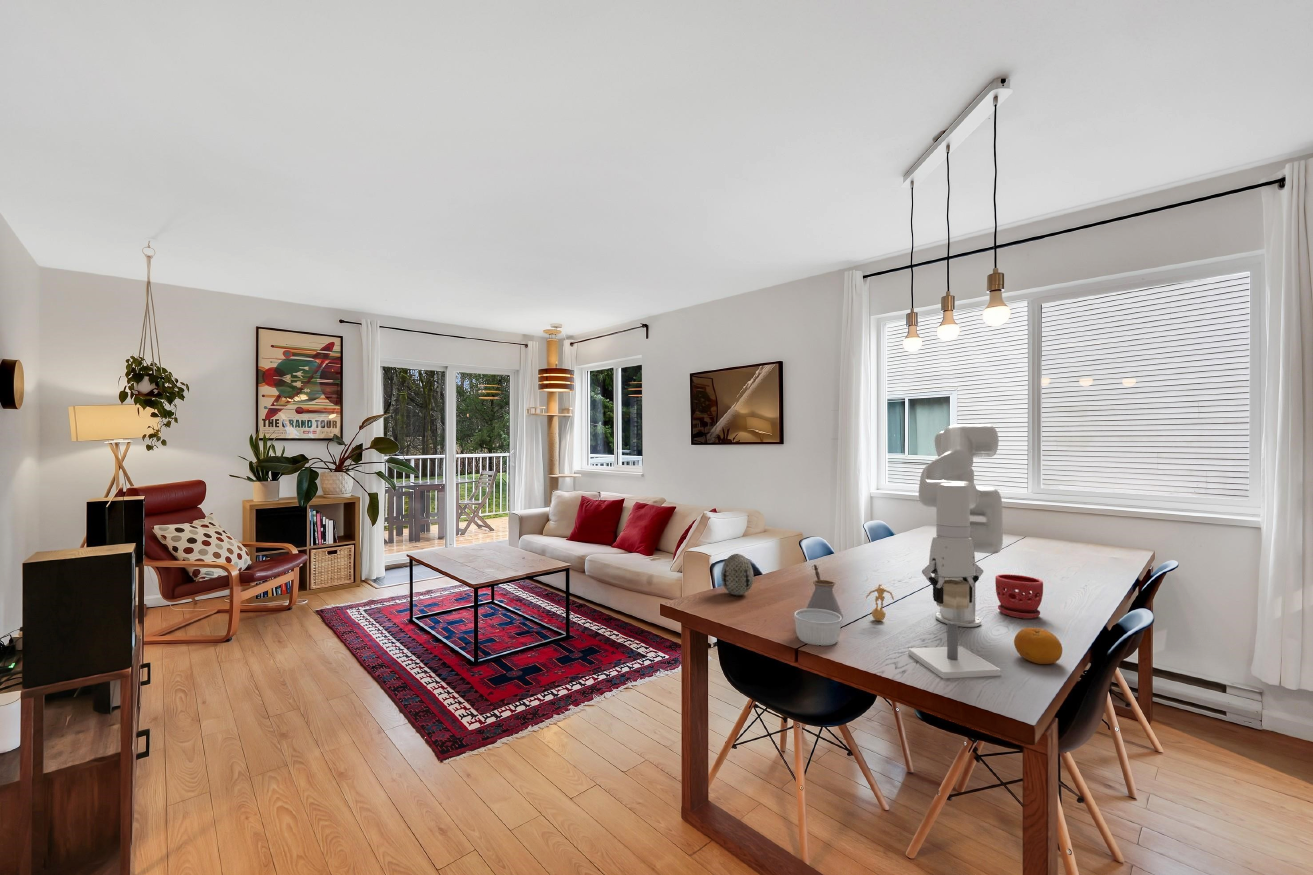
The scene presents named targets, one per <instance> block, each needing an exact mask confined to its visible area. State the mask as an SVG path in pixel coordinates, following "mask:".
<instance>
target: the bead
mask: <svg viewBox="0 0 1313 875" xmlns="http://www.w3.org/2000/svg"><path fill="white" fill-rule="evenodd" d="M941 588H943V604H940V603H938V602H935V603H936V606H937V605H939V606H941V607H944V608H950V609H955V610H961V609H968V608H969V582H966V581H963V580H959V579H952V578H945V580H944V582H943V584H942V586H941ZM939 606H938V607H939Z"/></svg>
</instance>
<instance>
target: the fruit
mask: <svg viewBox="0 0 1313 875" xmlns="http://www.w3.org/2000/svg"><path fill="white" fill-rule="evenodd" d="M1013 639H1014V640H1013V645H1014V648H1015V650H1016V652H1017V653H1018V654H1019V656H1021V657H1022V658H1023V659H1025V660H1026V661H1029V662H1031V663H1033V664H1037V665H1050V664H1054V663H1057V662H1058V661H1059V660H1060V659H1061V658H1062V655H1063V645H1062V643H1061V641H1060V639H1059V638H1058V637H1057V636H1056V635H1054V634H1053V633H1052V632H1051V631H1048V630H1047V629H1042V628H1039V627H1024V628H1022V629H1020V630H1019V631H1018V632H1017V633H1016V634H1015V636H1014V638H1013Z"/></svg>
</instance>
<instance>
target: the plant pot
mask: <svg viewBox="0 0 1313 875" xmlns="http://www.w3.org/2000/svg"><path fill="white" fill-rule="evenodd" d="M994 582H995V593H996V597H997V599H998V602H999V604H998V605H997V609H998V610H999V611H1000V612H1001V613H1002V614H1004V615H1005V616H1009V617H1014V618H1019V619H1022V618H1023V620H1025V619H1034V618H1037V617H1039V616H1040V615H1041V610H1040V609H1039V607H1040V606H1041V605H1042V604H1041V603H1042V600H1043V595H1044V582H1043V580H1041V579H1039V578H1036V577H1033V576H1027V575H1021V574H1019V575H1018V574H1011V573H1009V574H1008V573H1007V574H1005V573H1004V574H1003V573H1002V574H996V576H995V581H994Z"/></svg>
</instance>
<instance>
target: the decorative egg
mask: <svg viewBox="0 0 1313 875" xmlns="http://www.w3.org/2000/svg"><path fill="white" fill-rule="evenodd" d="M720 572H721V574H720V576H721V577H720V578H721V583H722V586H723V588H724V590H726V592H728V594H731V595H733V596H743V595H745V594H746V593H748V592H749V591H750V590H751V588H752V586H753V584H754V569H753V567H752V564H751V562H750V561H749V559H748V558H747V557H746V556H744V554H740V553H734V554H731V555H729V556H728V557H727V558H726V559H725V561H724V563H723V564H722V569H721V571H720Z"/></svg>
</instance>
